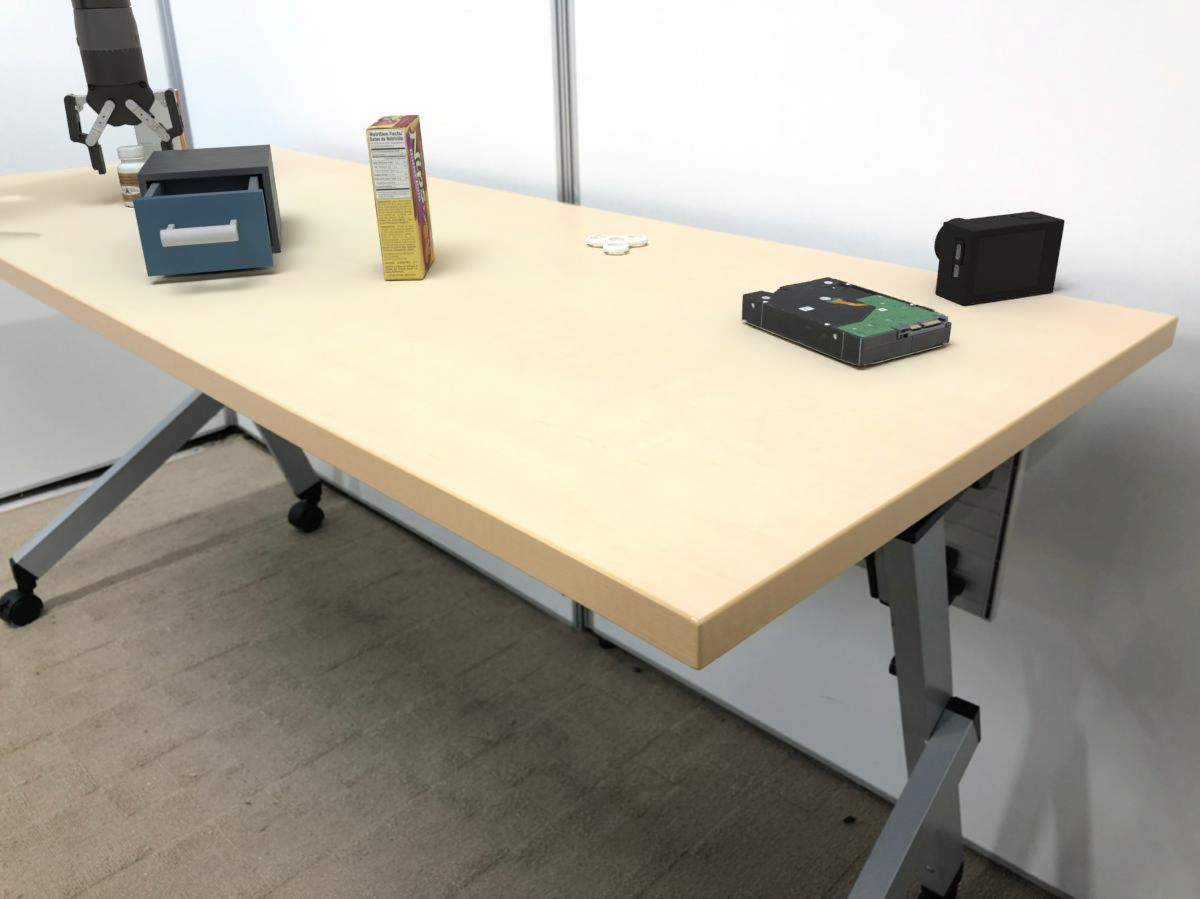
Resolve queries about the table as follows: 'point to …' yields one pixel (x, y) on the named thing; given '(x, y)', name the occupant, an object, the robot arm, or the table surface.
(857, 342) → the disk drive
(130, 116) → the robot arm
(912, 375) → the table surface
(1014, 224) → the digital camera
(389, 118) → the candy box
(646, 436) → the table surface
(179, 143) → the small box
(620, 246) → the fidget spinner
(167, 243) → the blue drawer
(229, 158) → the drawer cabinet
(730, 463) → the table surface
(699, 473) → the table surface
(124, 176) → the pill bottle
